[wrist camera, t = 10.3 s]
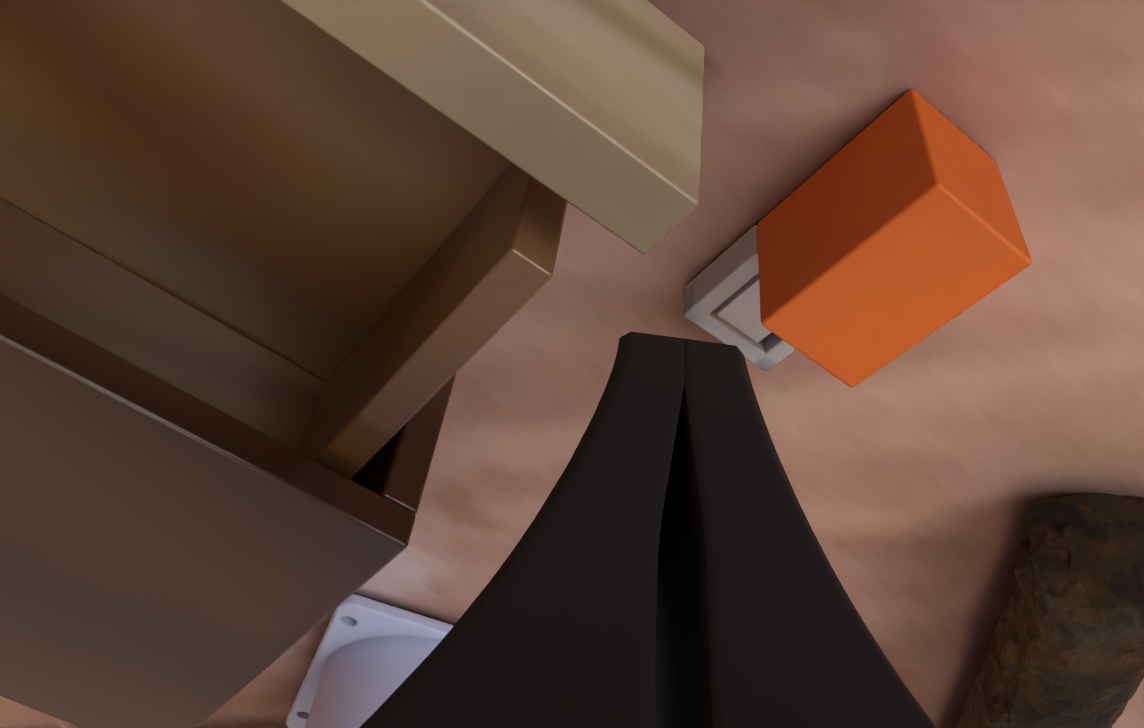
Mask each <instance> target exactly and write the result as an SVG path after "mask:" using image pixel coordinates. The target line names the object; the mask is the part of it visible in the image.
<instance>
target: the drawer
mask: <svg viewBox="0 0 1144 728" xmlns="http://www.w3.org/2000/svg"><path fill="white" fill-rule="evenodd" d="M704 57H705V48H704V46H703V45H702V44H701V43H699V42H698V41H697V40H696V39H694V38H693V37H692V36H691V35H689V34H688V33H687V32H686V31H685V30H683V29H682V28H681V27H680V26H678V25H677V24H676V23H675V22H673V21H672V20H671V19H670V18H669V17H667V16H666V15H665V14H664V13H662V12H661V11H660V10H659V9H657V8H656V7H655V6H654V5H653V4H651V3H650V2H649V1H648V0H0V294H1V295H3V296H5V297H7V298H9V299H11V300H13V301H15V302H17V303H18V304H20V305H22V306H24V307H26V308H28V309H30V310H32V311H34V312H35V313H37V314H39V315H41V316H43V317H45V318H47V319H49V320H50V321H52V322H54V323H56V324H58V325H60V326H62V327H64V328H66V329H67V330H69V331H71V332H73V333H75V334H77V335H79V336H81V337H83V338H84V339H86V340H88V341H90V342H92V343H94V344H96V345H98V346H99V347H101V348H103V349H105V350H107V351H109V352H111V353H113V354H115V355H116V356H118V357H120V358H122V359H124V360H126V361H128V362H130V363H132V364H133V365H135V366H137V367H139V368H141V369H143V370H145V371H147V372H148V373H150V374H152V375H154V376H156V377H158V378H160V379H162V380H164V381H165V382H167V383H169V384H171V385H173V386H175V387H177V388H179V389H181V390H182V391H184V392H186V393H188V394H190V395H192V396H194V397H196V398H197V399H199V400H201V401H203V402H205V403H207V404H209V405H211V406H213V407H214V408H216V409H218V410H220V411H222V412H224V413H226V414H228V415H230V416H231V417H233V418H235V419H237V420H239V421H241V422H243V423H245V424H246V425H248V426H250V427H252V428H254V429H256V430H258V431H260V432H262V433H263V434H265V435H267V436H269V437H271V438H273V439H275V440H277V441H279V442H280V443H282V444H284V445H286V446H288V447H290V448H292V449H294V450H295V451H297V452H299V453H301V454H303V455H305V456H307V457H309V458H311V459H312V460H314V461H316V462H318V463H320V464H322V465H324V466H326V467H327V468H329V469H331V470H333V471H335V472H337V473H339V474H341V475H343V476H344V477H346V478H348V479H351V478H352V477H353V476H354V475H355V474H356V473H357V472H358V471H359V470H360V469H361V468H362V467H363V466H364V465H365V464H366V463H367V462H368V461H369V460H370V459H371V458H372V457H373V456H374V455H375V454H376V453H377V452H378V451H379V450H380V449H381V448H382V447H383V446H384V445H385V444H386V443H387V442H388V441H389V440H390V439H391V438H392V437H393V436H394V435H395V434H396V433H397V432H398V431H399V430H400V429H401V428H402V427H403V426H404V425H405V424H406V423H407V422H408V421H409V420H410V419H411V418H412V417H413V416H414V415H415V414H416V413H417V412H418V411H419V410H420V409H421V408H422V407H423V406H424V405H425V404H426V403H427V402H428V401H429V400H430V399H431V398H432V397H433V396H434V395H435V394H436V393H437V392H438V391H439V390H440V389H441V388H442V387H443V386H444V385H445V384H446V383H447V382H448V381H449V380H450V379H451V378H452V377H453V376H454V375H455V374H456V373H457V372H458V371H459V370H460V369H461V368H462V367H463V366H464V365H465V364H466V363H467V362H468V361H469V360H470V359H471V358H472V357H473V356H474V355H475V354H476V353H477V352H478V351H479V350H480V349H481V348H482V347H483V346H484V345H485V344H486V343H487V342H488V341H489V340H490V339H491V338H492V337H493V336H494V334H495V333H496V332H497V331H498V330H499V329H500V328H501V327H502V326H503V325H504V324H505V323H506V322H507V321H508V320H509V319H510V318H511V317H512V316H513V315H514V314H515V313H516V312H517V311H518V310H519V309H520V308H521V307H522V306H523V305H524V304H525V303H526V302H527V301H528V300H529V299H530V298H531V297H532V296H533V295H534V294H535V293H536V292H537V291H538V290H539V289H540V288H541V287H542V286H543V285H544V284H545V283H546V282H547V281H548V280H549V279H550V278H551V277H552V275H553V270H554V265H555V260H556V256H557V251H558V246H559V241H560V236H561V231H562V226H563V221H564V216H565V211H566V206H567V202H569V203H570V204H572V205H573V206H575V207H576V208H578V209H579V210H580V211H582V212H583V213H585V214H586V215H588V216H589V217H590V218H592V219H593V220H595V221H596V222H598V223H599V224H600V225H602V226H603V227H605V228H606V229H608V230H609V231H610V232H612V233H613V234H615V235H616V236H618V237H619V238H620V239H622V240H623V241H625V242H626V243H628V244H629V245H631V246H632V247H633V248H635V249H636V250H638V251H639V252H641V253H642V254H647V253H648V252H649V251H650V250H651V249H652V248H653V247H654V246H656V245H657V244H658V243H659V242H660V241H661V240H662V239H663V238H664V237H665V236H666V235H667V234H668V233H669V232H670V231H671V230H673V229H674V228H675V227H676V226H677V225H678V224H679V223H680V222H681V221H682V220H683V219H684V218H685V217H686V216H687V215H689V214H690V213H691V212H692V211H693V210H694V209H695V208H696V207H697V206H698V204H699V198H700V170H701V142H702V114H703V85H704Z"/></svg>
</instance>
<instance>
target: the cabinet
mask: <svg viewBox="0 0 1144 728" xmlns="http://www.w3.org/2000/svg"><path fill="white" fill-rule="evenodd" d="M455 376H456V374H455V375H454V376H453V377H452V378H451V379H450V380H449V381H448V382H447V383H446V384H445V385H444V386H443V387H442V388H441V389H440V390H439V391H438V392H437V393H436V394H435V395H434V396H433V397H432V398H431V399H430V400H429V401H428V402H427V403H426V404H425V405H424V406H423V407H422V408H421V409H420V410H419V411H418V412H417V413H416V414H415V415H414V416H413V417H412V418H411V419H410V420H409V421H408V422H407V423H406V424H405V425H404V426H403V427H402V428H401V429H400V430H399V431H398V432H397V433H396V434H395V435H394V436H393V437H392V438H391V439H390V440H389V441H388V442H387V443H386V444H385V445H384V446H383V447H382V448H381V449H380V450H379V451H378V452H377V453H376V454H375V455H374V456H373V457H372V458H371V459H370V460H369V461H368V462H367V463H366V464H365V465H364V466H363V467H362V468H361V469H360V470H359V471H358V472H357V473H356V474H355V475H354V476H353V477H352V478H351V479H348V478H346V477H344V476H343V475H341V474H339V473H337V472H335V471H333V470H331V469H329V468H327V467H326V466H324V465H322V464H320V463H318V462H316V461H314V460H312V459H311V458H309V457H307V456H305V455H303V454H301V453H299V452H297V451H295V450H294V449H292V448H290V447H288V446H286V445H284V444H282V443H280V442H279V441H277V440H275V439H273V438H271V437H269V436H267V435H265V434H263V433H262V432H260V431H258V430H256V429H254V428H252V427H250V426H248V425H246V424H245V423H243V422H241V421H239V420H237V419H235V418H233V417H231V416H230V415H228V414H226V413H224V412H222V411H220V410H218V409H216V408H214V407H213V406H211V405H209V404H207V403H205V402H203V401H201V400H199V399H197V398H196V397H194V396H192V395H190V394H188V393H186V392H184V391H182V390H181V389H179V388H177V387H175V386H173V385H171V384H169V383H167V382H165V381H164V380H162V379H160V378H158V377H156V376H154V375H152V374H150V373H148V372H147V371H145V370H143V369H141V368H139V367H137V366H135V365H133V364H132V363H130V362H128V361H126V360H124V359H122V358H120V357H118V356H116V355H115V354H113V353H111V352H109V351H107V350H105V349H103V348H101V347H99V346H98V345H96V344H94V343H92V342H90V341H88V340H86V339H84V338H83V337H81V336H79V335H77V334H75V333H73V332H71V331H69V330H67V329H66V328H64V327H62V326H60V325H58V324H56V323H54V322H52V321H50V320H49V319H47V318H45V317H43V316H41V315H39V314H37V313H35V312H34V311H32V310H30V309H28V308H26V307H24V306H22V305H20V304H18V303H17V302H15V301H13V300H11V299H9V298H7V297H5V296H3V295H1V294H0V696H2V697H5V698H7V699H10V700H12V701H15V702H17V703H20V704H22V705H25V706H28V707H30V708H33V709H35V710H38V711H40V712H43V713H45V714H48V715H51V716H53V717H56V718H58V719H61V720H63V721H66V722H68V723H71V724H73V725H76V726H79V727H81V728H197V727H198V726H200V725H201V724H202V723H203V722H204V721H205V720H206V719H208V718H209V717H210V716H211V715H212V714H213V713H215V712H216V711H217V710H218V709H219V708H220V707H222V706H223V705H224V704H225V703H226V702H227V701H229V700H230V699H231V698H232V697H233V696H234V695H236V694H237V693H238V692H239V691H240V690H241V689H243V688H244V687H245V686H246V685H247V684H248V683H249V682H251V681H252V680H253V679H254V678H255V677H256V676H258V675H259V674H260V673H261V672H262V671H263V670H265V669H266V668H267V667H268V666H269V665H270V664H272V663H273V662H274V661H275V660H276V659H277V658H279V657H280V656H281V655H282V654H283V653H284V652H286V651H287V650H288V649H289V648H290V647H291V646H292V645H294V644H295V643H296V642H297V641H298V640H299V639H301V638H302V637H303V636H304V635H305V634H306V633H308V632H309V631H310V630H311V629H312V628H313V627H315V626H316V625H317V624H318V623H319V622H320V621H322V620H323V619H324V618H325V617H326V616H327V615H329V614H330V613H331V612H332V611H333V610H334V609H335V608H337V607H338V606H339V605H340V604H341V603H342V602H344V601H345V600H346V599H347V598H348V597H349V596H351V595H352V594H353V593H354V592H355V591H356V590H358V589H359V588H360V587H361V586H362V585H363V584H365V583H366V582H367V581H368V580H369V579H370V578H372V577H373V576H374V575H375V574H376V573H377V572H379V571H380V570H381V569H382V568H383V567H384V566H385V565H387V564H388V563H389V562H390V561H391V560H392V559H394V558H395V557H396V556H397V555H398V554H399V553H401V552H402V551H403V550H404V549H405V548H406V547H407V546H408V542H409V539H410V535H411V532H412V528H413V525H414V521H415V514H416V513H417V510H418V507H419V503H420V500H421V496H422V493H423V489H424V486H425V482H426V479H427V475H428V472H429V468H430V464H431V461H432V457H433V454H434V450H435V447H436V443H437V440H438V436H439V433H440V429H441V426H442V422H443V419H444V415H445V412H446V408H447V405H448V401H449V397H450V394H451V390H452V387H453V383H454V380H455Z"/></svg>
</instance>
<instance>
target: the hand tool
mask: <svg viewBox="0 0 1144 728" xmlns="http://www.w3.org/2000/svg"><path fill="white" fill-rule="evenodd" d="M1026 528H1027V531H1028V535H1029V538H1027V539H1025V540H1024V541H1022V542H1021V547H1020V560H1019V562H1018V564H1017V566H1016V568H1015V570H1014V575H1015V577H1016V580H1017V585H1016V587H1015V591H1014V594H1013V597H1012V599H1011V601H1010V602H1009V604H1008V606H1007V608H1006V609H1005V611H1004V612H1003V614H1002V616H1001V618H1000V619H999V621H998V624H997V628H996V630H995V632H994V634H993V636H992V639H991V643H990V648H989V653H988V655H987V657H986V659H985V661H984V663H983V664H982V665H979V666H977V667H976V672H977V676H976V678H975V681H974V684H973V687H972V689H971V692H970V694H969V695H968V697H967V699H966V703H965V707H964V709H963V712H962V715H961V717H960V719H959V721H958V723H957V726H956V728H1111V727H1112V726H1113V724H1114V723H1115V722H1116V720H1117V719H1118V717H1119V716H1120V715H1121V714H1122V712H1123V710H1124V708H1125V706H1126V704H1127V702H1128V701H1129V700H1130V699H1131V698H1132V696H1133V695H1134V694H1135V692H1136V690H1137V688H1138V687H1139V686H1140V685H1139V684H1140V682H1141V681H1142V680H1143V678H1144V498H1142V497H1127V496H1123V497H1119V496H1116V495H1109V494H1097V493H1096V494H1080V495H1068V496H1061V497H1052V498H1046V499H1044V500H1042V501H1040V502H1038V503H1037V504H1035V505H1034V506H1033V507H1031V509H1030V512H1029V515H1028V519H1027V523H1026Z"/></svg>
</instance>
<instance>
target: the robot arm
mask: <svg viewBox="0 0 1144 728" xmlns="http://www.w3.org/2000/svg"><path fill="white" fill-rule="evenodd" d="M286 725H287V726H288V728H937V727H936V726H935V724H934V723H933V722H932V720H931V719H930V718H929V717H928V715H927V714H926V713H925V711H924V710H923V709H922V707H921V706H920V705H919V703H918V702H917V701H916V699H915V698H914V697H913V695H912V694H911V693H910V691H909V690H908V688H907V687H906V686H905V684H904V683H903V681H902V680H901V678H900V677H899V675H898V674H897V672H896V671H895V669H894V668H893V666H892V665H891V663H890V662H889V660H888V659H887V657H886V656H885V654H884V653H883V651H882V650H881V648H880V647H879V645H878V644H877V642H876V641H875V639H874V638H873V636H872V634H871V633H870V631H869V630H868V628H867V626H866V625H865V623H864V622H863V620H862V618H861V617H860V615H859V613H858V612H857V610H856V609H855V607H854V605H853V604H852V602H851V600H850V599H849V597H848V595H847V593H846V592H845V590H844V588H843V587H842V585H841V583H840V581H839V579H838V578H837V576H836V574H835V572H834V570H833V569H832V567H831V565H830V563H829V561H828V559H827V557H826V556H825V554H824V552H823V550H822V548H821V546H820V544H819V542H818V540H817V538H816V536H815V535H814V533H813V531H812V529H811V527H810V525H809V523H808V521H807V519H806V516H805V514H804V512H803V510H802V508H801V506H800V504H799V502H798V500H797V497H796V495H795V493H794V491H793V488H792V486H791V484H790V482H789V480H788V477H787V475H786V473H785V471H784V468H783V466H782V464H781V462H780V459H779V457H778V454H777V452H776V450H775V447H774V445H773V442H772V440H771V437H770V435H769V432H768V429H767V427H766V424H765V421H764V419H763V416H762V413H761V411H760V408H759V405H758V402H757V399H756V396H755V393H754V390H753V387H752V384H751V380H750V377H749V373H748V370H747V366H746V362H745V358H744V355H743V353H742V352H741V351H740V350H739V348H738V347H737V346H734V345H727V344H719V343H712V342H704V341H697V340H689V339H682V338H674V337H667V336H659V335H652V334H644V333H637V332H629V333H628V334H626V335H624V336H622V337H621V338H620V340H619V346H618V352H617V356H616V359H615V362H614V366H613V369H612V372H611V375H610V378H609V380H608V383H607V385H606V388H605V390H604V393H603V395H602V397H601V400H600V402H599V404H598V406H597V409H596V411H595V413H594V415H593V417H592V419H591V421H590V423H589V425H588V427H587V429H586V431H585V433H584V435H583V437H582V439H581V441H580V443H579V444H578V446H577V448H576V450H575V452H574V454H573V456H572V458H571V460H570V462H569V463H568V465H567V467H566V469H565V470H564V472H563V474H562V475H561V477H560V478H559V480H558V482H557V483H556V485H555V487H554V488H553V490H552V491H551V493H550V495H549V496H548V498H547V500H546V501H545V503H544V504H543V506H542V508H541V509H540V511H539V512H538V514H537V516H536V517H535V519H534V520H533V522H532V523H531V525H530V526H529V528H528V529H527V531H526V532H525V534H524V535H523V537H522V538H521V539H520V541H519V542H518V544H517V545H516V547H515V548H514V549H513V551H512V552H511V554H510V555H509V556H508V558H507V559H506V560H505V562H504V563H503V564H502V566H501V567H500V568H499V570H498V571H497V573H496V574H495V575H494V577H493V578H492V579H491V581H490V582H489V583H488V584H487V586H486V587H485V588H484V589H483V591H482V592H481V593H480V594H479V596H478V597H477V598H476V599H475V601H474V602H473V603H472V604H471V606H470V607H469V608H468V609H467V610H466V612H465V613H464V614H463V615H462V617H461V618H460V619H459V620H458V622H457V623H456V624H455V625H451V624H448V623H445V622H442V621H438V620H435V619H432V618H429V617H426V616H423V615H419V614H416V613H413V612H410V611H407V610H404V609H400V608H397V607H394V606H391V605H388V604H385V603H381V602H378V601H375V600H372V599H369V598H366V597H362V596H359V595H355V594H352V595H351V596H349V597H348V598H347V599H346V600H345V601H344V602H342V603H341V604H340V605H339V606H338V607H337V608H336V609H335V611H334V613H333V615H332V618H331V620H330V622H329V624H328V627H327V629H326V631H325V633H324V636H323V638H322V640H321V642H320V645H319V647H318V649H317V651H316V654H315V656H314V658H313V660H312V663H311V665H310V667H309V669H308V672H307V674H306V676H305V678H304V681H303V683H302V685H301V687H300V690H299V692H298V694H297V696H296V699H295V701H294V703H293V705H292V708H291V710H290V712H289V714H288V717H287V720H286Z"/></svg>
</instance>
